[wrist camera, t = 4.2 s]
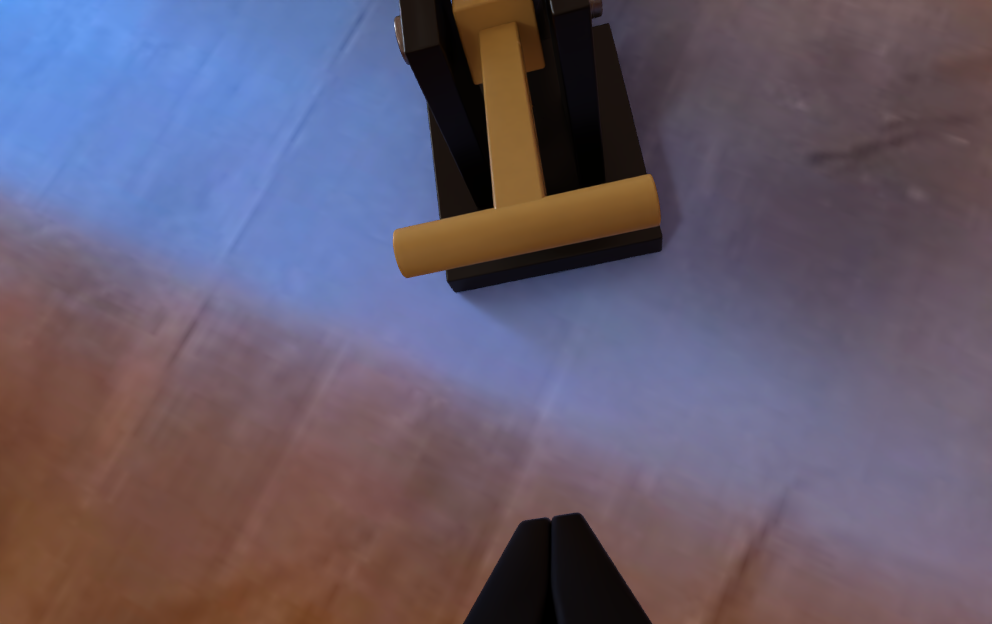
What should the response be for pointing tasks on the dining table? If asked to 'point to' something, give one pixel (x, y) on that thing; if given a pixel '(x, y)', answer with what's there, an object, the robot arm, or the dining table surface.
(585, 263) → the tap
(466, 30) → the tap lever
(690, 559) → the dining table surface
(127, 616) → the dining table surface
